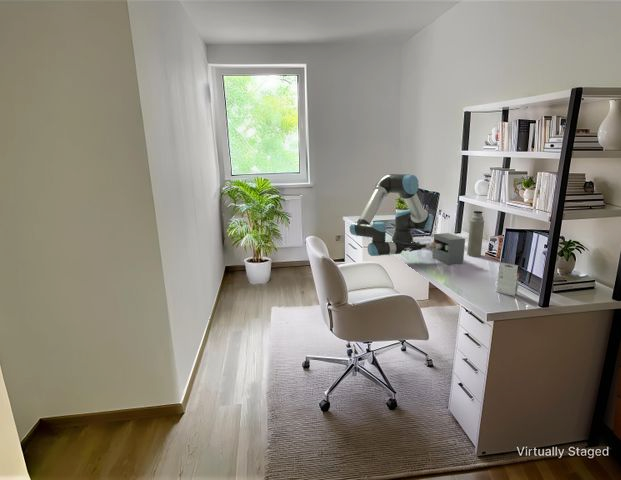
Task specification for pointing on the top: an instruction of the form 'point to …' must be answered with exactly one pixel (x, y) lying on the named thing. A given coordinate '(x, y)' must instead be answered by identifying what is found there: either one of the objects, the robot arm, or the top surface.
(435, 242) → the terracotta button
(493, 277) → the top surface
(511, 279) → the ink box
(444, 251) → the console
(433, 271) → the top surface
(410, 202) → the robot arm
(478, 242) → the thermos bottle
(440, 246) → the grey button
